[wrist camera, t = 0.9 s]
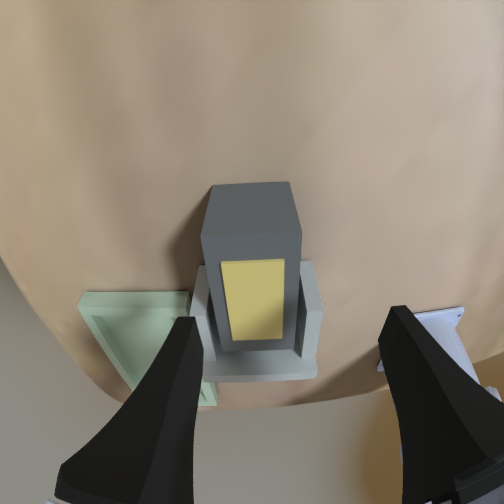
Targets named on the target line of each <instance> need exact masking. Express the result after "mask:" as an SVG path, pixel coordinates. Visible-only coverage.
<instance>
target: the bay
mask: <svg viewBox="0 0 504 504" xmlns="http://www.w3.org/2000/svg"><path fill="white" fill-rule="evenodd" d="M323 312H324V310H323V306H322V301H321V297H320V292H319V288H318V284H317V280H316V276H315V271H314V267H313V263H312V261H300V277H299V292H298V306H297V319H296V331H295V342H294V349H287V350H268V351H239V352H223V350H222V345H221V341H220V336H219V331H218V327H217V322H216V317H215V312H214V307H213V302H212V297H211V292H210V287H209V282H208V276H207V271H206V266H205V265H199V267H198V272H197V277H196V282H195V288H194V293H193V298H192V304H191V309H190V315H189V316H195V318H196V322H197V326H198V330H199V334H200V337H201V341H202V345H203V348H204V358H203V376H202V378H203V381H204V382H265V381H285V380H300V379H312V378H316V376H317V365H316V358H315V356H316V351H317V346H318V341H319V335H320V330H321V324H322V318H323Z"/></svg>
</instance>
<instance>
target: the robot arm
mask: <svg viewBox="0 0 504 504" xmlns="http://www.w3.org/2000/svg"><path fill="white" fill-rule="evenodd" d="M464 311H465V310H464V308H463V307H455V308H449V309H443V310H436V311H430V312H423V313H416V314H413V313H412V312H411V311H410V310H409V309H408V308H407V306H406V305H401V306H391V309H390V311H389V314H388V316H387V319H386V321H385V324H384V326H383V329H382V331H381V334H380V336H379V339H378V343H379V348H380V354H381V360H380V362H379V364H378V366H377V371H378V372H381V371H385V374H386V377H387V381H388V384H389V387H390V390H391V394H392V398H393V402H394V405H395V409H396V412H397V416H398V420H399V428H400V436H401V446H400V455H401V461H402V465H403V494H402V504H504V403H503V402H502V401H501V399H500V396H499V394H498V392H497V389H496V388H493V387H490V386H487V387H486V388H485V389H484V388H483V387H482V386H481V385H480V383H479V381H478V378H477V376H476V373H475V371H474V369H473V366H472V364H471V362H470V360H469V357H468V355H467V353H466V351H465V349H464V346H463V344H462V342H461V340H460V338H459V336H458V334H457V332H456V330H455V327H456V325H457V323H458V322H459V320H460V318H461V316H462V315H463V313H464ZM203 358H204V348H203V345H202V341H201V337H200V334H199V330H198V326H197V322H196V318H195V316H179V317H177V318H176V320H175V322H174V324H173V326H172V328H171V330H170V332H169V334H168V336H167V338H166V340H165V341H164V343H163V345H162V347H161V349H160V350H159V352H158V354H157V355H156V357H155V359H154V361H153V362H152V364H151V366H150V367H149V369H148V370H147V372H146V373H145V375H144V376H143V378H142V379H141V381H140V382H139V384H138V385H137V387H136V388H135V390H134V391H133V392H132V394H131V395H130V397H129V398H128V399H127V400H126V402H125V403H124V404H123V406H122V407H121V408H120V409H119V410H118V412H117V413H116V414H115V415H114V416H113V417H112V419H111V420H110V421H109V422H108V423H107V424H106V425H105V426H104V427H103V428H102V429H101V430H100V432H98V434H96V435H95V436H94V437H93V438H92V439H91V440H90V441H89V442H88V443H87V444H86V445H85V446H84V447H83V448H81V449H80V450H79V451H78V452H77V453H76V454H74V455H73V456H72V457H70V458H69V459H68V460H67V461H66V462H64V463H63V464H62V465H61V467H60V470H59V473H58V477H57V483H56V488H55V494H54V495H55V497H56V498H58V499H60V500H63V501H65V502H68V503H71V504H194V498H193V441H194V427H195V420H196V413H197V408H198V401H199V395H200V389H201V382H202V376H203ZM46 504H59V503H57V502H54V501H52V500H49V499H48V500H46Z"/></svg>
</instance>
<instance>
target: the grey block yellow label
mask: <svg viewBox="0 0 504 504" xmlns="http://www.w3.org/2000/svg"><path fill="white" fill-rule="evenodd" d="M200 238H201V244H202V249H203V255H204V260H205V266H206V271H207V276H208V282H209V287H210V292H211V297H212V302H213V307H214V312H215V317H216V322H217V327H218V331H219V336H220V341H221V345H222V350H223V352H239V351H268V350H287V349H294V342H295V331H296V319H297V306H298V292H299V277H300V261H301V243H302V230H301V226H300V222H299V218H298V214H297V210H296V206H295V203H294V199H293V195H292V191H291V188H290V184H289V182H266V183H245V184H227V185H213V186H212V189H211V194H210V198H209V202H208V206H207V210H206V214H205V218H204V223H203V227H202V231H201V235H200Z"/></svg>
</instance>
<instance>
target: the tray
mask: <svg viewBox="0 0 504 504" xmlns="http://www.w3.org/2000/svg"><path fill="white" fill-rule="evenodd" d="M191 304H192V301H191V298H190V294H189V291H165V292H84V293H83V295H82V297H81V299H80V301H79V303H78V305H77V308H78V310H79V311H80V313H81V315H82V317H83V318H84V320H85V322H86V323H87V325H88V327H89V328H90V330H91V332H92V333H93V335H94V336H95V338H96V340H97V341H98V343H99V344H100V346H101V347H102V349H103V351H104V352H105V354H106V355H107V357H108V358H109V360H110V361H111V363H112V364H113V365H114V367H115V368H116V370H117V371H118V373H119V374H120V375H121V377H122V378H123V380H124V381H125V382H126V384H127V385H128V386H129V388H130V389H131V391H132V392H133V391H134V390H135V388H136V387H137V385H138V384H139V382H140V381H141V379H142V378H143V376H144V375H145V373H146V372H147V370H148V369H149V367H150V366H151V364H152V362H153V361H154V359H155V357H156V355H157V354H158V352H159V350H160V349H161V347H162V345H163V343H164V341H165V340H166V338H167V336H168V334H169V332H170V330H171V328H172V326H173V324H174V322H175V320H176V318H177V317H179V316H189V315H190V309H191ZM217 402H218V391H217V388H216V385H215V382H204V381H203V378H202V382H201V389H200V395H199V401H198V406H217Z"/></svg>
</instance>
